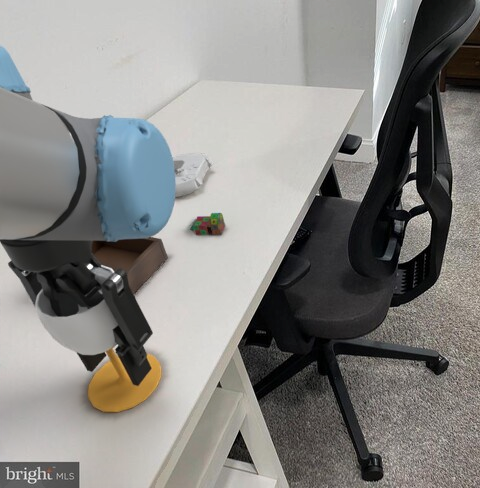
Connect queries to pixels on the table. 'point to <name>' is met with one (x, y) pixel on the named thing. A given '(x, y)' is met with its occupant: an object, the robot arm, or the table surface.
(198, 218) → the block
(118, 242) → the holder
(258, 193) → the table surface
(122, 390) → the cup
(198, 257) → the table surface
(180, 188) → the game controller
